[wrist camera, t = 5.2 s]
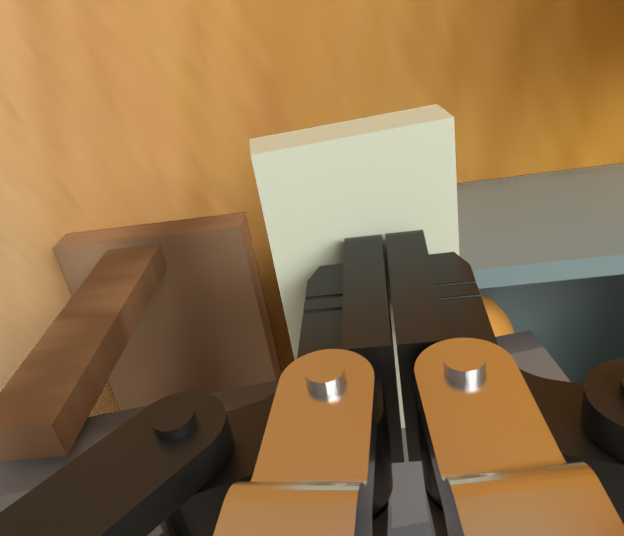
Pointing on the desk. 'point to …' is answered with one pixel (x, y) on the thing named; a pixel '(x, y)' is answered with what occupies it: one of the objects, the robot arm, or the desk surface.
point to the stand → (141, 328)
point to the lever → (336, 255)
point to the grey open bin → (552, 258)
